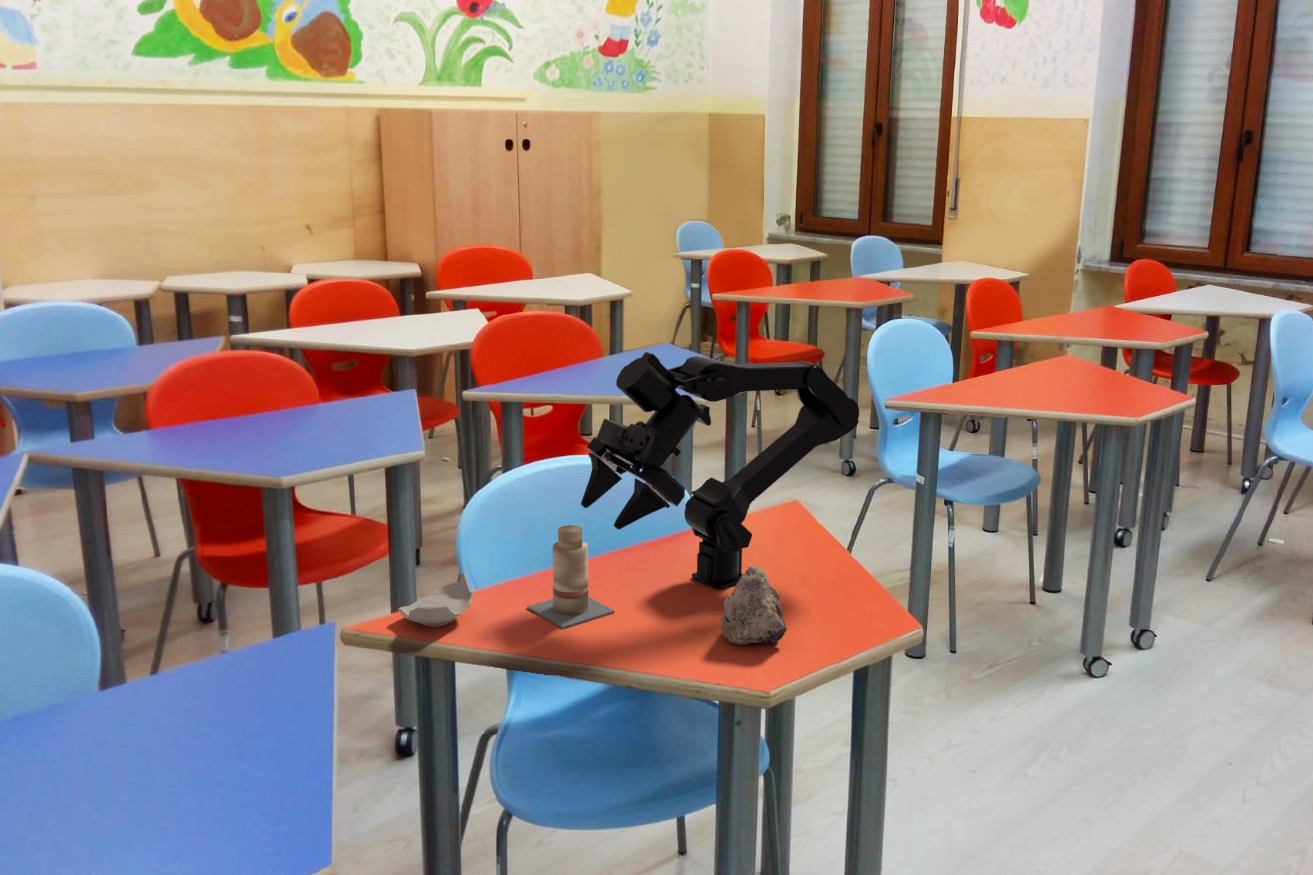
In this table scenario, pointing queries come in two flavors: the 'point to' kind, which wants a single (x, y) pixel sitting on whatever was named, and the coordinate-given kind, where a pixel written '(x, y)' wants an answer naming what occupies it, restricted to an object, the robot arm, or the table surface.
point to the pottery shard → (440, 604)
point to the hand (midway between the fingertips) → (599, 516)
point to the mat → (566, 621)
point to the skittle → (570, 572)
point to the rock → (753, 611)
